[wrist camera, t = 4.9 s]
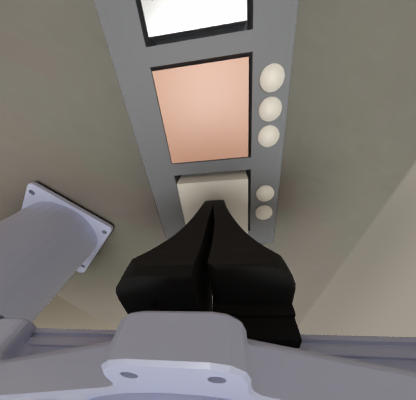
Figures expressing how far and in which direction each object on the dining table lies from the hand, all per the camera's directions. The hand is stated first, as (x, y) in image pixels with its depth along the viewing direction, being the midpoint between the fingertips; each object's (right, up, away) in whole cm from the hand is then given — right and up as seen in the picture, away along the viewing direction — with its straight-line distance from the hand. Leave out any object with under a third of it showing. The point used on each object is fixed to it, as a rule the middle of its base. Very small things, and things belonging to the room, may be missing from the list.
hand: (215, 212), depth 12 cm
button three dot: (-1, +6, -1) cm, 6 cm away
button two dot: (0, +1, +2) cm, 2 cm away
